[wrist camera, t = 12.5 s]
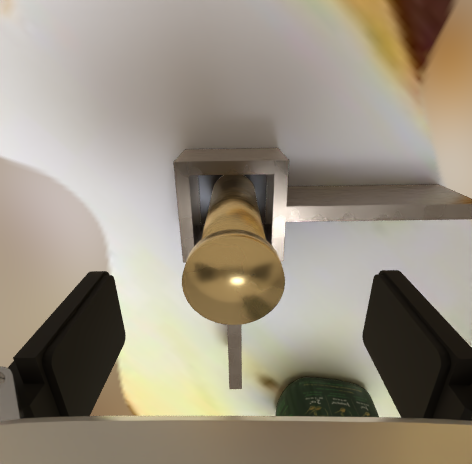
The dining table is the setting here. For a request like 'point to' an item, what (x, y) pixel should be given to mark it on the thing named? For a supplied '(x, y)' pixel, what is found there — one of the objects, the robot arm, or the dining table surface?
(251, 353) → the dining table surface
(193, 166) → the hinge
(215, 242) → the hinge pin
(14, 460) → the robot arm
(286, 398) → the coffee jar
